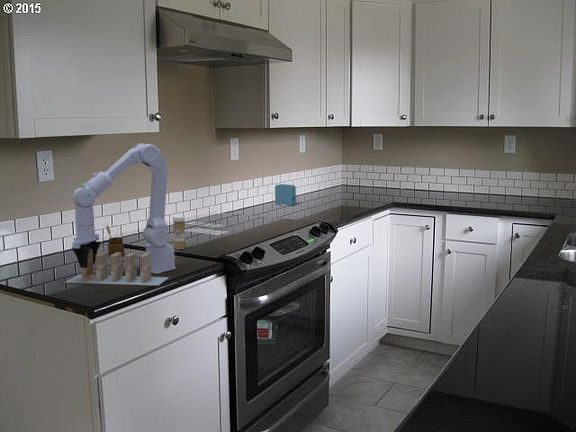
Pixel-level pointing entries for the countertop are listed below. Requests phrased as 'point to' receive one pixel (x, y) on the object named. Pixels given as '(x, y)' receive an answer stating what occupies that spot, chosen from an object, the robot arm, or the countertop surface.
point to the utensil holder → (115, 244)
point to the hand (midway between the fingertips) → (87, 265)
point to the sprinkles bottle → (179, 232)
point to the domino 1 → (88, 266)
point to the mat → (122, 281)
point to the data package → (285, 194)
